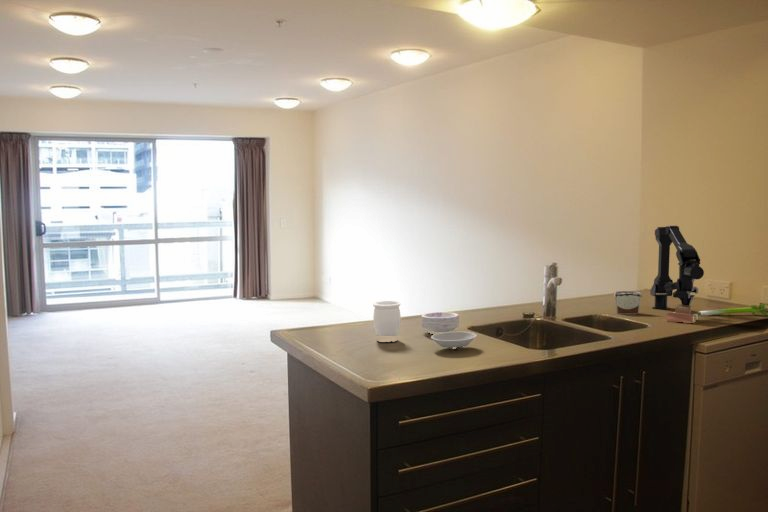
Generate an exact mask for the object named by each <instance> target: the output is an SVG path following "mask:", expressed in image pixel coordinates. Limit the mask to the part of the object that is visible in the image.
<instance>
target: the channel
mask: <svg viewBox="0 0 768 512" xmlns="http://www.w3.org/2000/svg"><path fill="white" fill-rule="evenodd" d="M696 320H697V321H698V320H699V313H694V314H693V313H691V314H685V313H675V311H673V312H671V311H667V312H666V322H667V321H672V322H671V323H677V322H683V323H682V324H687V323H693V322H694V323H696V322H697V321H696ZM694 323H693V324H694Z"/></svg>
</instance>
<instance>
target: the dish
mask: <svg viewBox="0 0 768 512" xmlns="http://www.w3.org/2000/svg"><path fill="white" fill-rule="evenodd" d="M477 336H478V335H477V334H476V333H473V332H469V331H454V332H444V333H438V334H435V335H431V336H430V339H432V340H433V341H434V342H435V343H436V344H437V345H438V346H440V347H442V348H445V347H450V348H449V349H451V348H453V347H461V348H464V347H466V346H468V345H469V344H471V343H472V342H473V341H474V339H476V338H477ZM463 346H464V347H463Z"/></svg>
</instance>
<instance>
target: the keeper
mask: <svg viewBox="0 0 768 512" xmlns="http://www.w3.org/2000/svg"><path fill="white" fill-rule="evenodd" d="M691 308H692V306H691V304H690V305H682V303H681V304H679V303H678V304H677V305H676V306H675V309H674V310H675V311H674V312H675V313H685V314H692V312H691V311H692V309H691Z"/></svg>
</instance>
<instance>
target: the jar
mask: <svg viewBox="0 0 768 512" xmlns="http://www.w3.org/2000/svg"><path fill="white" fill-rule="evenodd" d="M372 304H373V305H372V306H373V308H374V311H373V325H374V331H375V333H376V336H377V335H380V336H396V335H397V336H398V335H399V332H400V328H401V327H400V326H401V316H402V315H401V310H400V306H401V303H400V302H399V301H391V300H390V301H389V300H386V301H385V300H383V301H376V302H373V303H372Z"/></svg>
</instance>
